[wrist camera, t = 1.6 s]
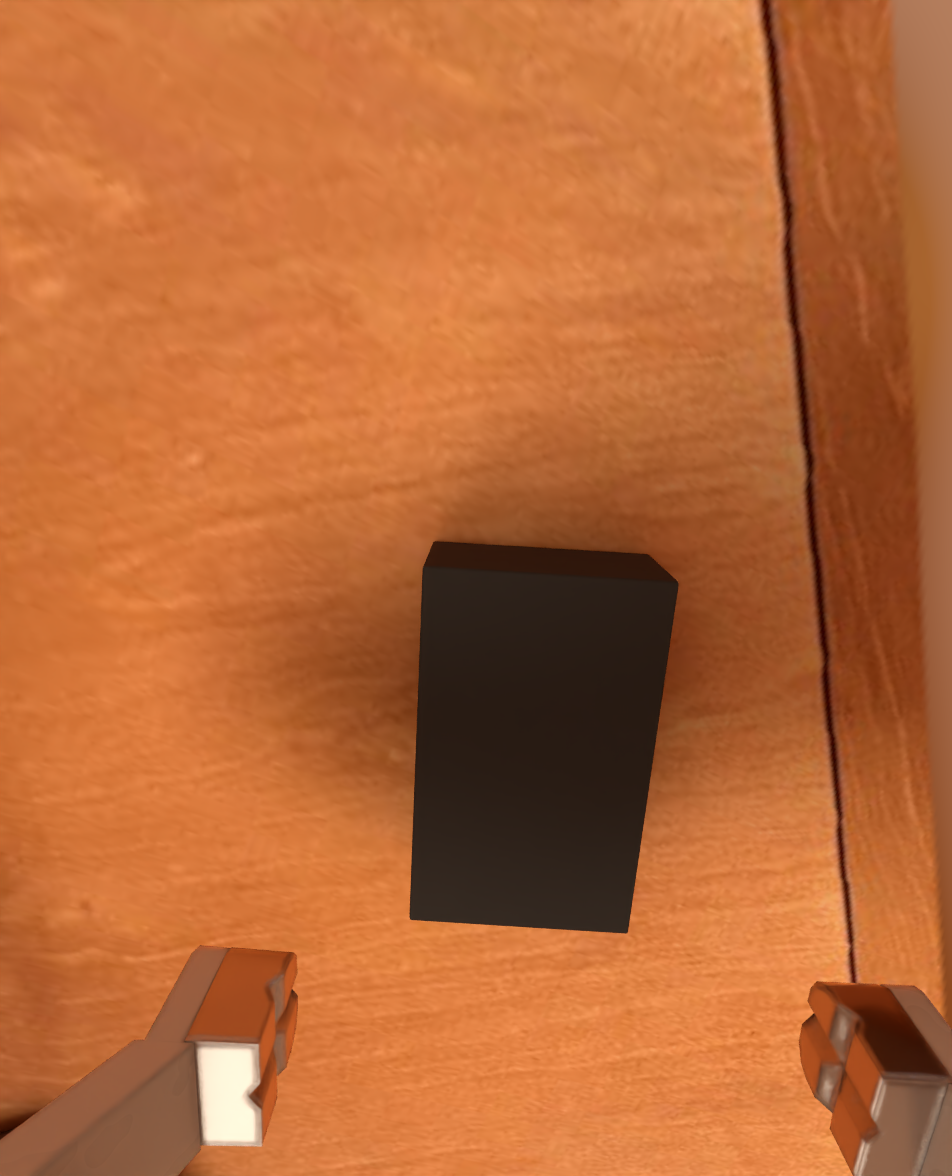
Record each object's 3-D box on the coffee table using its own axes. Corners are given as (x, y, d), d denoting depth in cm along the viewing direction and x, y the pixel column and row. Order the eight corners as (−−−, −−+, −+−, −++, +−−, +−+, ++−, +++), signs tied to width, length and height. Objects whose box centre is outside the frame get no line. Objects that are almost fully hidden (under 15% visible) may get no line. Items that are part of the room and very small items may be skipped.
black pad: (433, 540, 18) (422, 566, 15) (649, 554, 18) (680, 581, 15) (420, 849, 21) (409, 921, 18) (608, 861, 21) (628, 934, 18)
